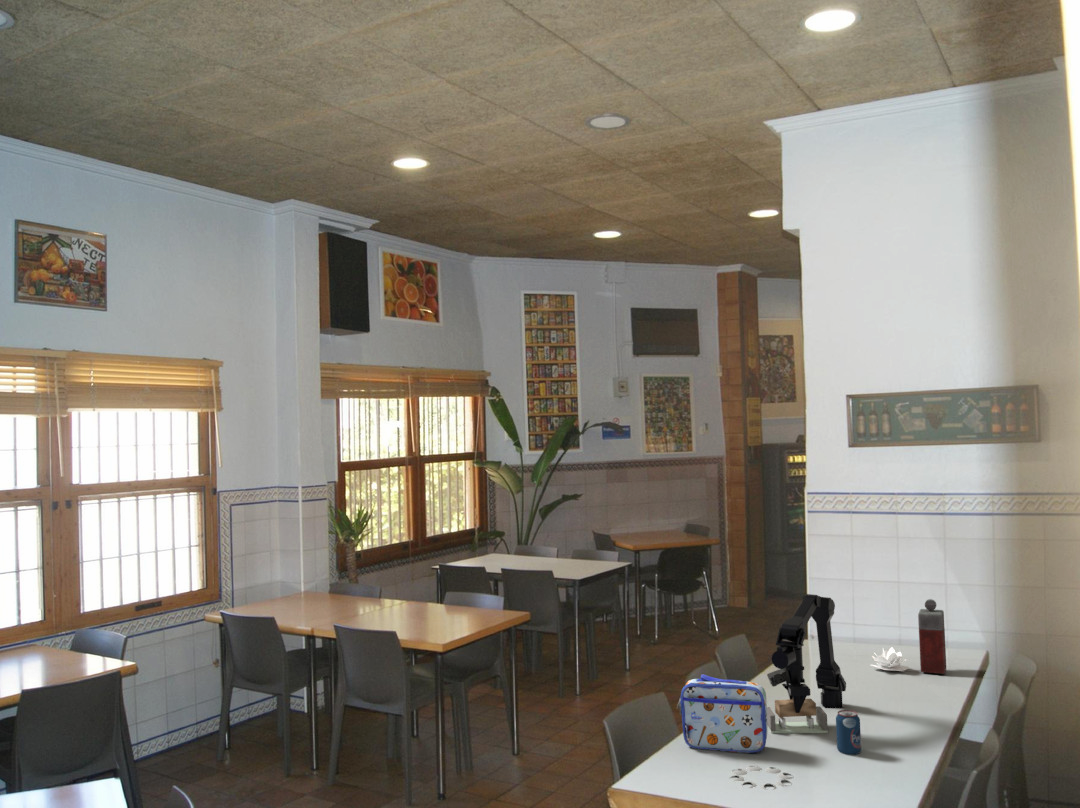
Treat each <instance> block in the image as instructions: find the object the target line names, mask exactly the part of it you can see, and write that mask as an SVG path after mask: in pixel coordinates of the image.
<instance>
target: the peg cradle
mask: <svg viewBox="0 0 1080 808" xmlns="http://www.w3.org/2000/svg"><path fill="white" fill-rule="evenodd" d="M805 717H806V718H805V719H806V721H786V717H779V716H778V721H776V714H775V713H774V711H773V710H772V709H771V707H770V706H769V707H768V706H767V720H768V726H767V730H768V731H769V732H770V734H819V733H820V734H821V733H822V734H824V733H825V734H827V733H829V731H828V729H829V728H828V714H827V713H826V712H825V710H824V709H823V708H822V706H817V705H816V716H815V721H814V717H812V716H805Z"/></svg>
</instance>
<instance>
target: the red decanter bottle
mask: <svg viewBox="0 0 1080 808" xmlns="http://www.w3.org/2000/svg"><path fill="white" fill-rule="evenodd" d="M924 607H925V608H920V609H919V612H918V613H917V614H918V615H917V618H918V622H917V623H918V639H919V640H918V643H919V659H920V660H919V661H920V662H919V664H920V666H919V667H920V673H931V674H941V675H943V674H945V675H946V673H947V654H946V653H947V652H946V650H947V649H946V634H945V633H946V631H945V612H944V610H943V609H936V608H937V602H936V601H935V600H934V599H932V598H929V599H926V600H925V602H924Z"/></svg>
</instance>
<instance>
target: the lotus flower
mask: <svg viewBox="0 0 1080 808" xmlns="http://www.w3.org/2000/svg"><path fill="white" fill-rule="evenodd" d="M874 654H875V656H874V655H871V657H872V659H873V660H874V663H875V664H870V667H875V668H877V669H881V670H884V671H892V672H893V671H894V672H895V671H897V672H898V671H899V672H904V671H906V670H909V668H910V667H909V666H908V665H907V666H906V665H901V664H902V663H904V662H906V661H907V659H908V658H906V659H904V660H902V659H903V654H902V652H901V651H898V652H896V650H895V648H894V647H893V646H892V647H890V648H888V650H887V649H884V648H882V653H881V655H880V654H879V655H877V653H874Z"/></svg>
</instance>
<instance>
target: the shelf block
mask: <svg viewBox="0 0 1080 808" xmlns="http://www.w3.org/2000/svg"><path fill="white" fill-rule="evenodd" d="M816 707H817V703H816V702H815V701H814V700H813V699H812V698H806V699H805V701H804V703H803V705H802V707H801V710H800V712H799V713H796V712H795V707H794V702H793V699H790V698H789V699H775V700H774V712H775V713H774V714H775V715H777V716H778V718H779V717H784V718H791V717H806V716H811V717H814V716H815V717H816Z"/></svg>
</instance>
